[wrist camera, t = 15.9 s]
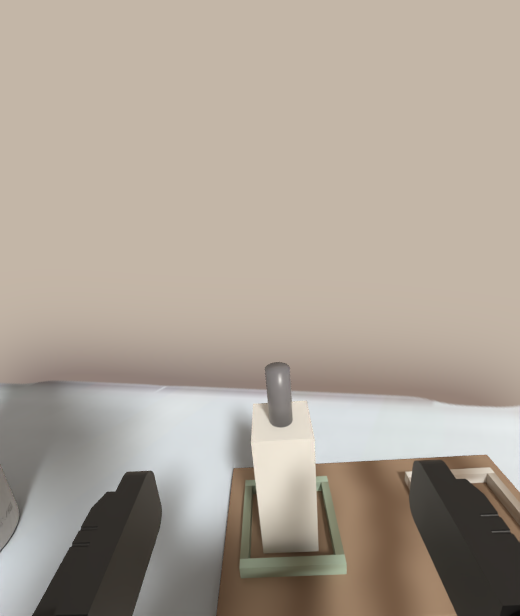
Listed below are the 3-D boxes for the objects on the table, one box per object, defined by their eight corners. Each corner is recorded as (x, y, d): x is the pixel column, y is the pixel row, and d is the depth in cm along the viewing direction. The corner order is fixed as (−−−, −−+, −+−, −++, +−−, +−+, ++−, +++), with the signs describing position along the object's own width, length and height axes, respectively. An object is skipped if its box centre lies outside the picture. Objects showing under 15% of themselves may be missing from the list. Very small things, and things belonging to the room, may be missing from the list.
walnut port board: (217, 630, 20) (213, 612, 19) (234, 475, 31) (232, 460, 31) (617, 617, 19) (626, 597, 18) (485, 461, 30) (488, 446, 30)
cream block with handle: (263, 553, 23) (244, 387, 19) (264, 498, 28) (248, 352, 23) (318, 551, 23) (312, 382, 19) (310, 495, 28) (303, 348, 23)
